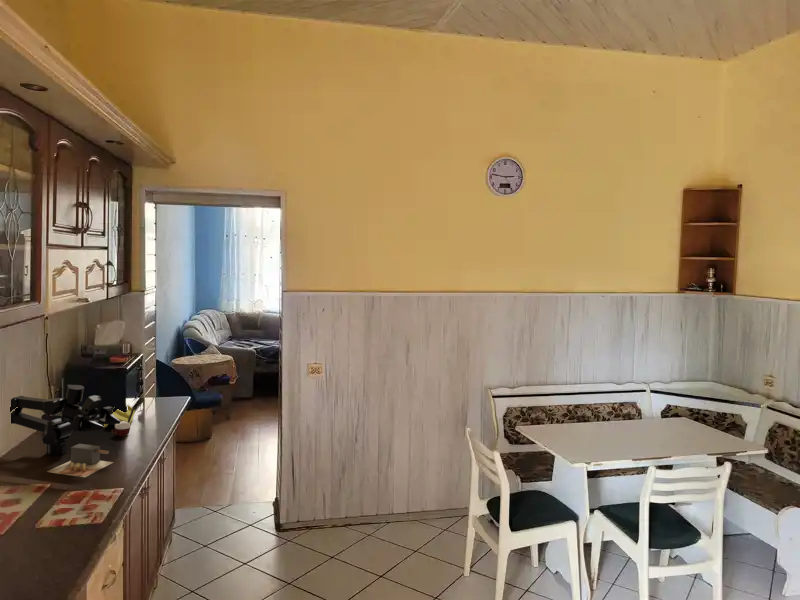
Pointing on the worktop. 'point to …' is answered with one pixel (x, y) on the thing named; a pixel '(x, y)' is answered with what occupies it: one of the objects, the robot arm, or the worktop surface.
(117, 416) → the plastic component
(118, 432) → the cocoa
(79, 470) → the header pins
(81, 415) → the robot arm
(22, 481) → the worktop surface
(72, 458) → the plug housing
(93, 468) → the birch board
